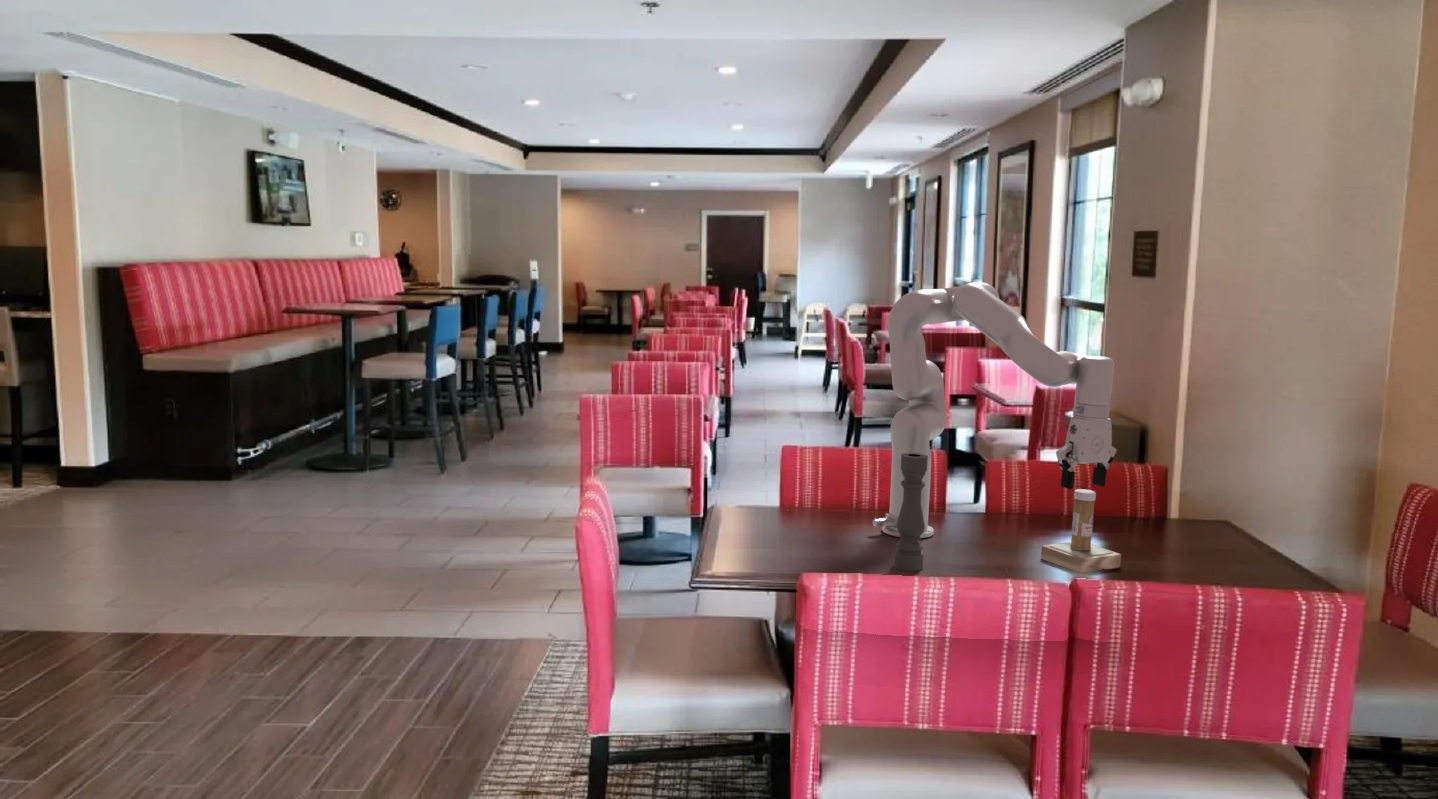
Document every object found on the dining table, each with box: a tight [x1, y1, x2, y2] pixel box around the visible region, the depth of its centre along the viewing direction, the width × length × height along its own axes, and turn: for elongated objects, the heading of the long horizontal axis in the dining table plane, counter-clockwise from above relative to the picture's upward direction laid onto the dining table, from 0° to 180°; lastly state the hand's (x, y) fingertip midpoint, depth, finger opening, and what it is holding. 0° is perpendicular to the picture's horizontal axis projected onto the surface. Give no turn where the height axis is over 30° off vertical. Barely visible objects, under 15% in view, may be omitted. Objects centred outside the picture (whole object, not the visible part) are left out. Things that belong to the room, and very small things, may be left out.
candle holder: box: [893, 453, 928, 572], centre depth 226 cm, size 6×6×25 cm
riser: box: [1040, 541, 1122, 574], centre depth 235 cm, size 12×12×3 cm
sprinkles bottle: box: [1070, 488, 1097, 551], centre depth 234 cm, size 5×5×13 cm
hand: (1082, 486), depth 233 cm, fingers open, 9 cm apart
